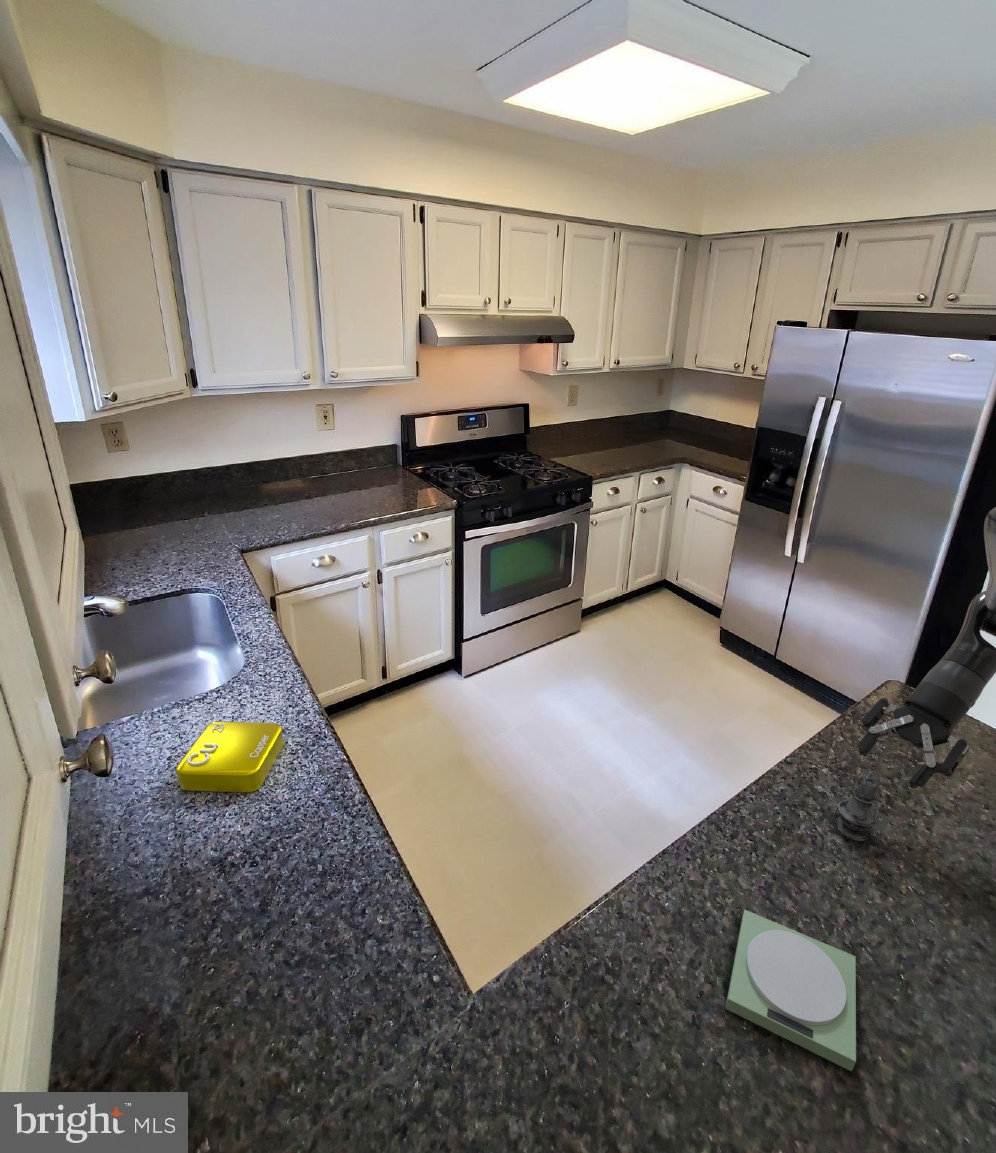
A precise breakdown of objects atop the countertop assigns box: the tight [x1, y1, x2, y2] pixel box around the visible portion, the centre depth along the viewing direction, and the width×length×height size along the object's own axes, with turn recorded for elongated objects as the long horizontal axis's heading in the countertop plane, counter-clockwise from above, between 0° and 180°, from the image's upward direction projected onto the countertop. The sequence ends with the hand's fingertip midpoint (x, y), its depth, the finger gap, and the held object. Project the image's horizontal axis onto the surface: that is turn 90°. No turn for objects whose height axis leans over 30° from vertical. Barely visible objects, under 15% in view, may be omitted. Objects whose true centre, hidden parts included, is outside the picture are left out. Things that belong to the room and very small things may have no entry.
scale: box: [724, 909, 857, 1072], centre depth 77 cm, size 14×14×3 cm
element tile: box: [175, 721, 285, 793], centre depth 113 cm, size 15×15×5 cm
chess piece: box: [834, 772, 879, 842], centre depth 99 cm, size 6×6×12 cm
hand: (886, 769), depth 99 cm, fingers open, 8 cm apart
